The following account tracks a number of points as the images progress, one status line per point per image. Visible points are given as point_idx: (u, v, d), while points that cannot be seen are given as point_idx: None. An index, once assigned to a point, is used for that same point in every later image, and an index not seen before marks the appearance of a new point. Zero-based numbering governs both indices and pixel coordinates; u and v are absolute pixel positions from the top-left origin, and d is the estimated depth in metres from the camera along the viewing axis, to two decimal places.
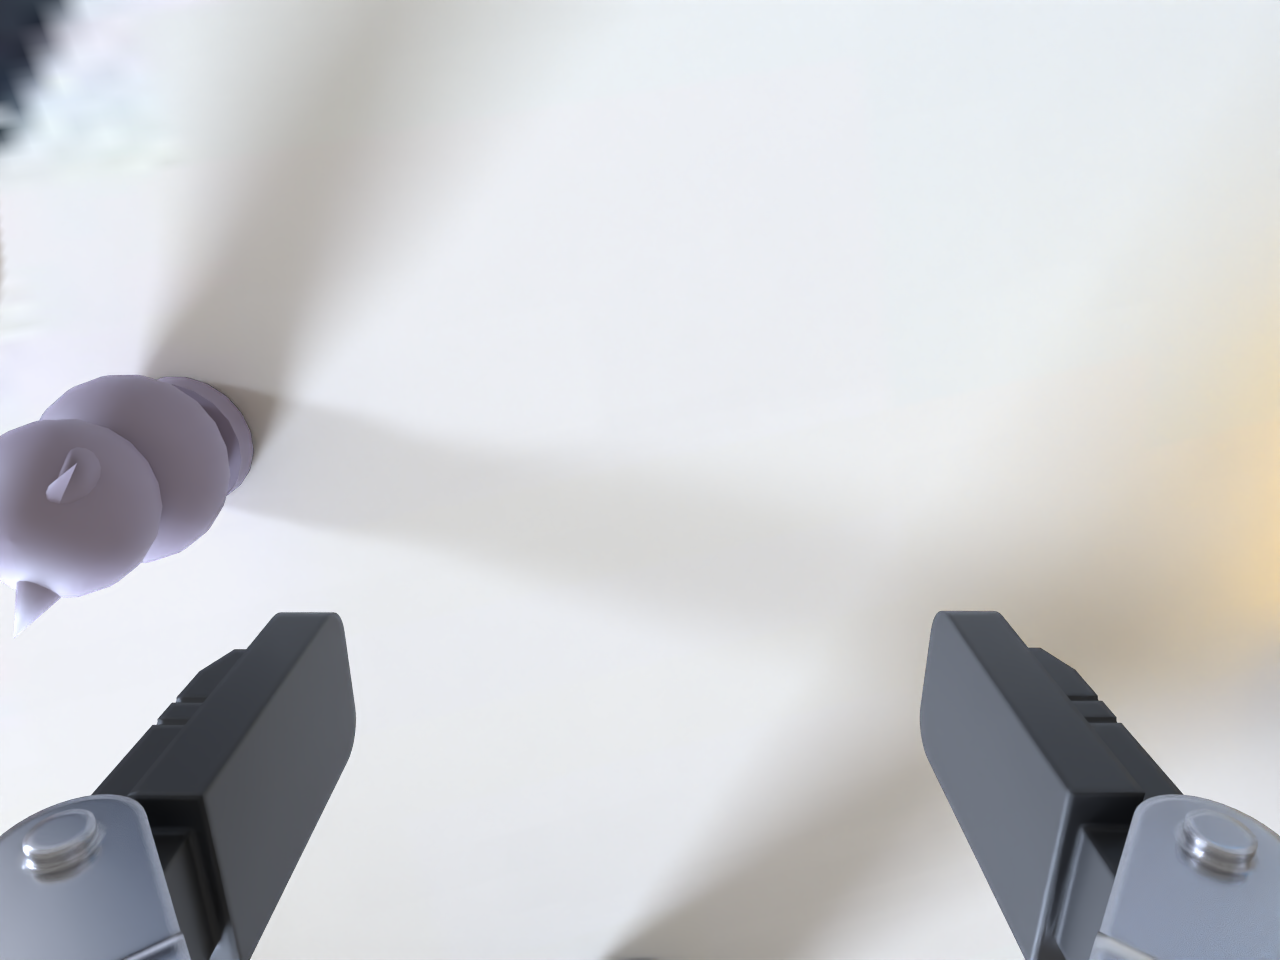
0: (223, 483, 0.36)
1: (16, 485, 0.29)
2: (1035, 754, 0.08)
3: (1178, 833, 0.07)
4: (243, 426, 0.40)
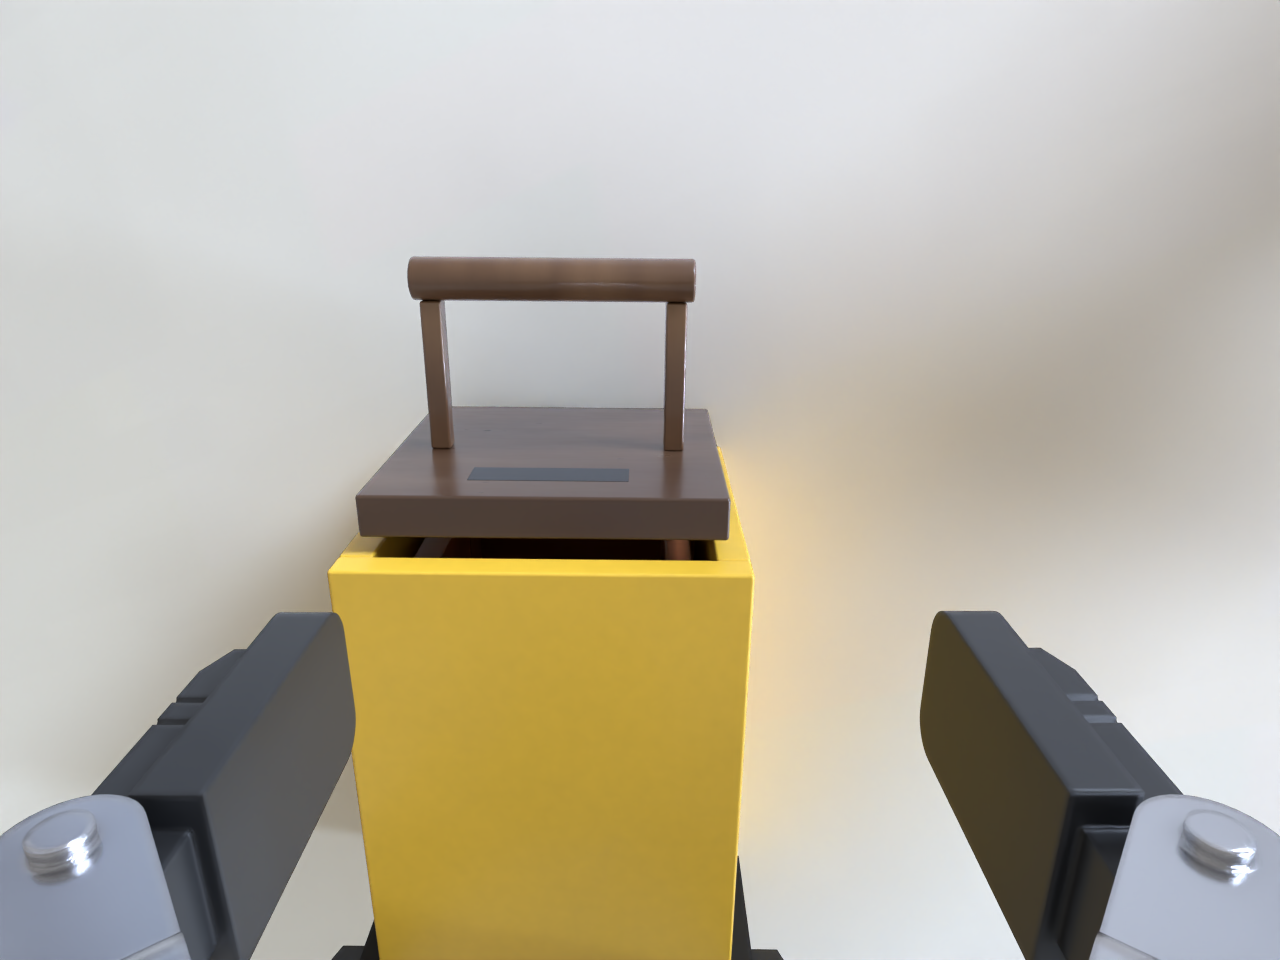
0: None
1: None
2: (1035, 754, 0.08)
3: (1178, 834, 0.07)
4: None
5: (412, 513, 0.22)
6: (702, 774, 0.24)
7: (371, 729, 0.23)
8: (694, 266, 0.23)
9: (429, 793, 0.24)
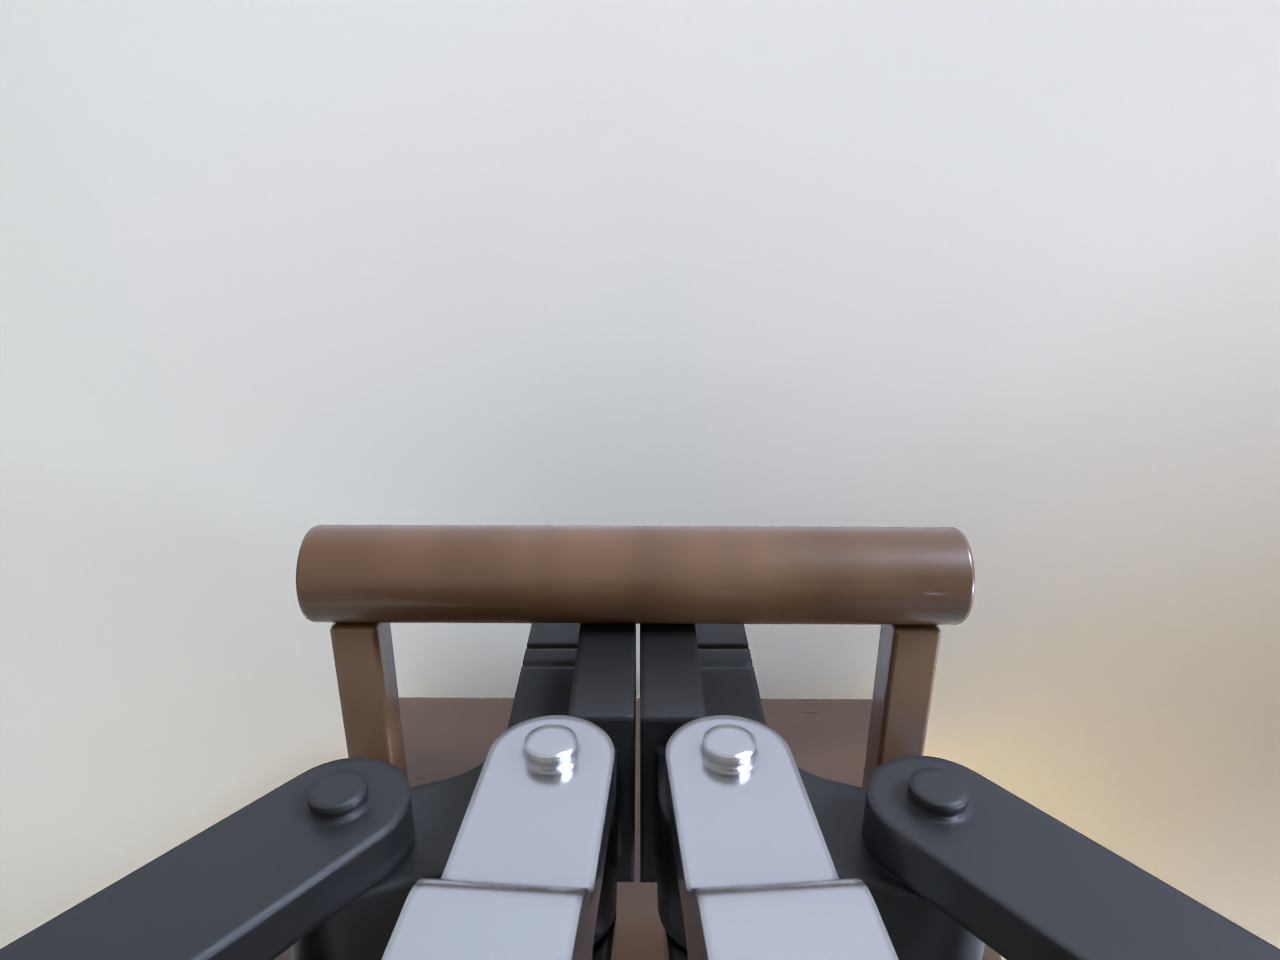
0: None
1: None
2: None
3: (698, 747, 0.08)
4: None
5: None
6: None
7: None
8: (971, 557, 0.10)
9: None
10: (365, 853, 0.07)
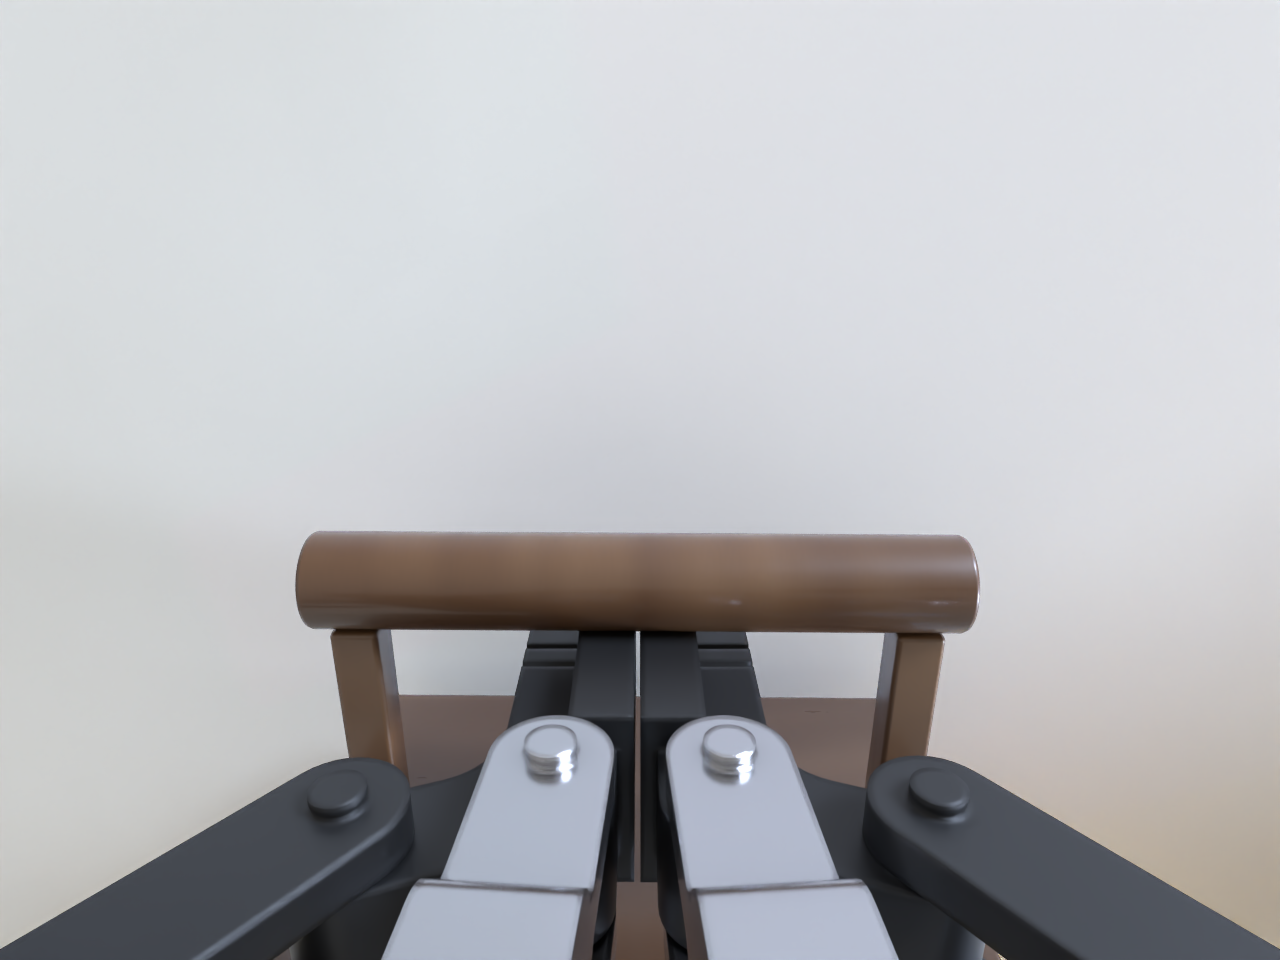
0: None
1: None
2: None
3: (699, 747, 0.08)
4: None
5: None
6: None
7: None
8: (976, 566, 0.10)
9: None
10: (365, 853, 0.07)
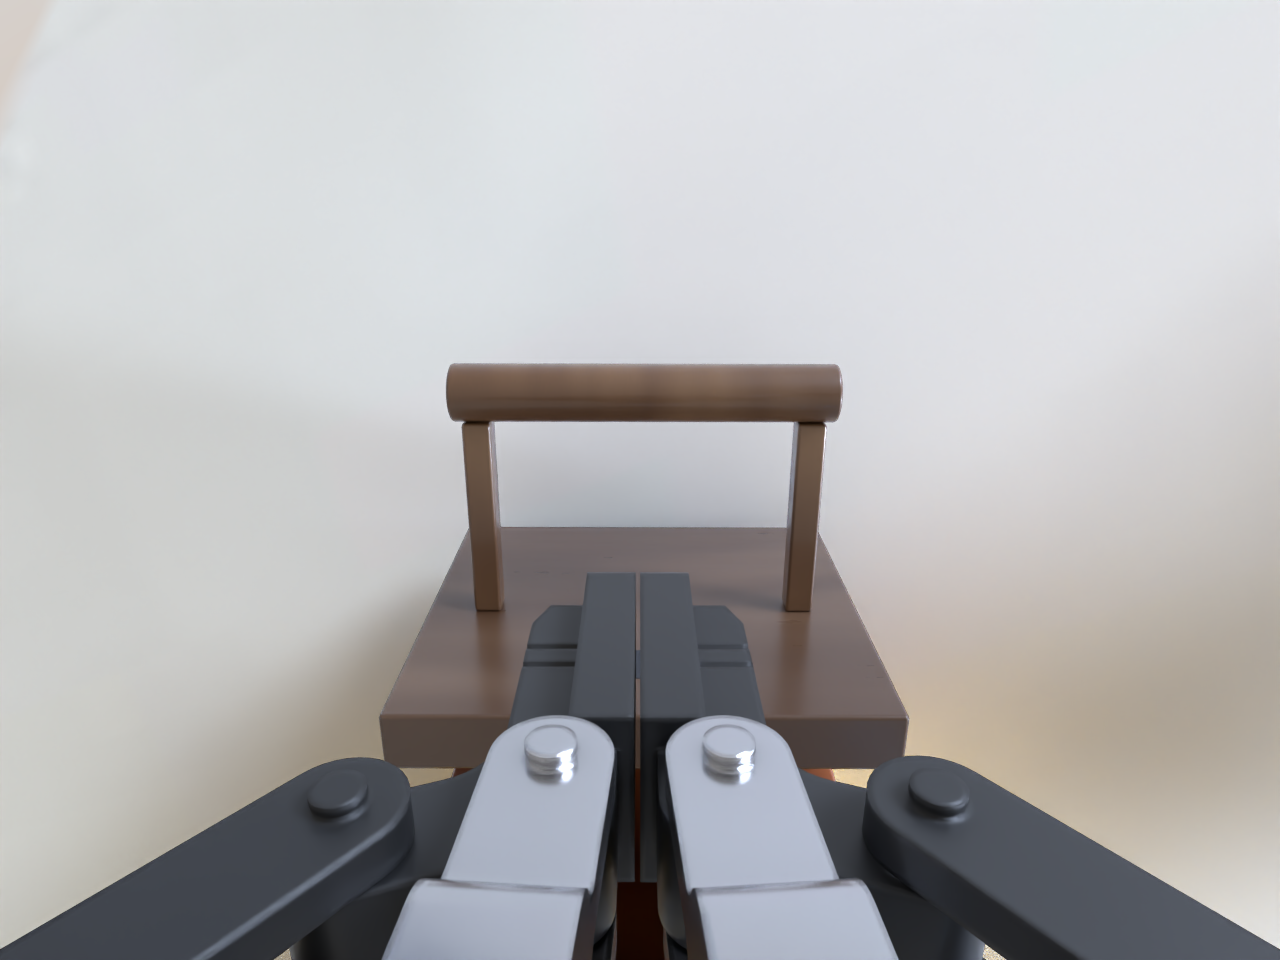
0: None
1: None
2: None
3: (699, 747, 0.08)
4: None
5: (459, 738, 0.15)
6: None
7: None
8: (840, 376, 0.17)
9: None
10: (365, 853, 0.07)
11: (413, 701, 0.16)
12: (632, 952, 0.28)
